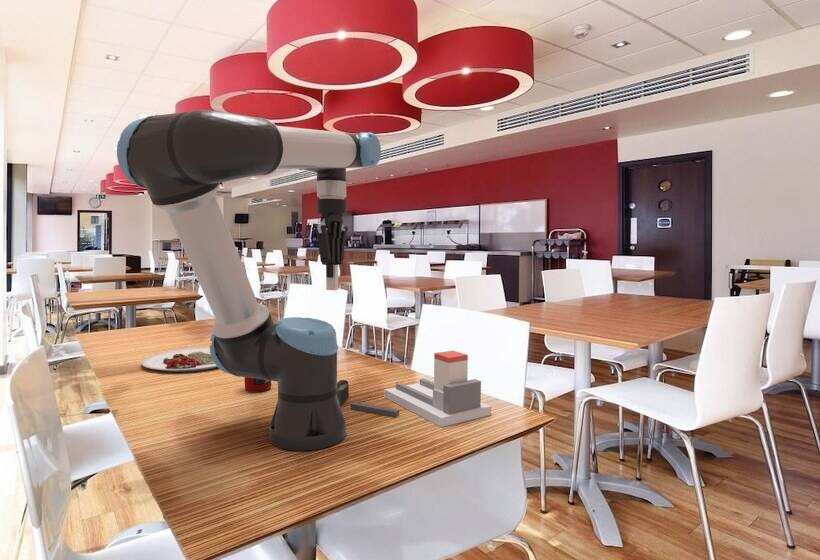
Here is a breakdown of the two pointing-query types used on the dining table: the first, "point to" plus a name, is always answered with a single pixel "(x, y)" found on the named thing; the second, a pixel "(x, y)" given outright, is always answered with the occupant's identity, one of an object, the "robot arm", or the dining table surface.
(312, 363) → the robot arm
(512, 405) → the dining table surface
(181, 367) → the plated food
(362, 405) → the gray rectangular bar
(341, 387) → the mobile phone
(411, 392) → the gray railed slide base
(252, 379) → the beverage can
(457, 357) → the toggle
